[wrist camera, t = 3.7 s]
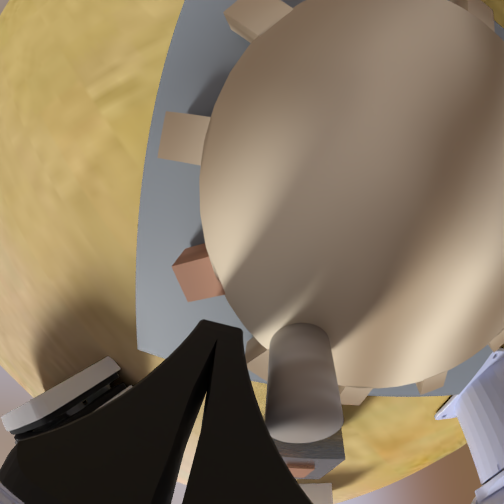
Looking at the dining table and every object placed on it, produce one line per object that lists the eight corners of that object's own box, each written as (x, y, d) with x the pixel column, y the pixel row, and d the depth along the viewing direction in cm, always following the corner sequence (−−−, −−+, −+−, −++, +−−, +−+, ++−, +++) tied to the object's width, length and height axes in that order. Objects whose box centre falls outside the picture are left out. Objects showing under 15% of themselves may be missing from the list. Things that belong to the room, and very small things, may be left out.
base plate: (556, 105, 6) (572, 107, 5) (451, 380, 14) (459, 395, 13) (226, -60, 6) (220, -78, 4) (147, 332, 14) (136, 350, 13)
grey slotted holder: (77, 422, 22) (20, 461, 12) (54, 387, 22) (-8, 421, 13) (162, 400, 17) (70, 484, 7) (125, 345, 17) (13, 408, 8)
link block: (338, 411, 16) (345, 463, 12) (316, 436, 18) (319, 482, 14) (269, 403, 16) (266, 459, 12) (255, 430, 18) (250, 478, 14)
